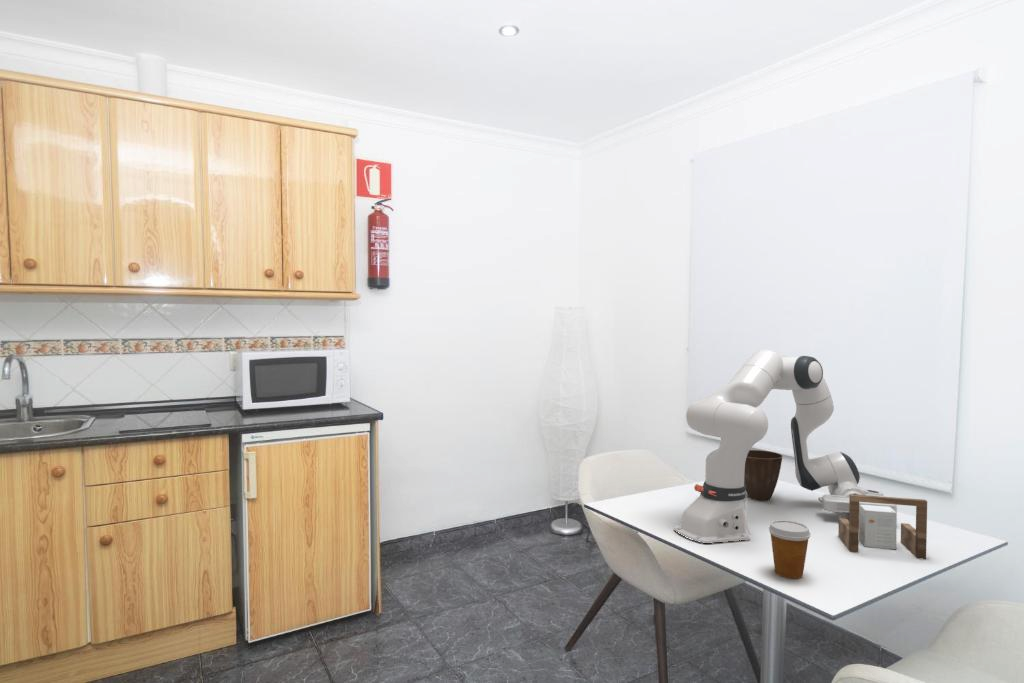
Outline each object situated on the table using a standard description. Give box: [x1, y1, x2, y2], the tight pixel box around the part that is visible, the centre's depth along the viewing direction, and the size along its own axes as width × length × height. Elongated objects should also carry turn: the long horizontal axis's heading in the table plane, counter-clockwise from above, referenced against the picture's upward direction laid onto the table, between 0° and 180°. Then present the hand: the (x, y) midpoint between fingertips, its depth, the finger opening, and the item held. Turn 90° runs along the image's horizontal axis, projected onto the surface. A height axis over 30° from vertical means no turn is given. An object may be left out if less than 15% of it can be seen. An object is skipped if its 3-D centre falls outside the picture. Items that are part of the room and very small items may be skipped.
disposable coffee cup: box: [768, 519, 812, 580], centre depth 144 cm, size 10×10×12 cm
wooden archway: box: [837, 494, 928, 560], centre depth 161 cm, size 12×18×16 cm, turn 74°
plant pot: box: [744, 449, 783, 502], centre depth 208 cm, size 15×15×16 cm
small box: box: [859, 505, 898, 550], centre depth 163 cm, size 8×6×10 cm
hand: (865, 513), depth 175 cm, fingers closed
